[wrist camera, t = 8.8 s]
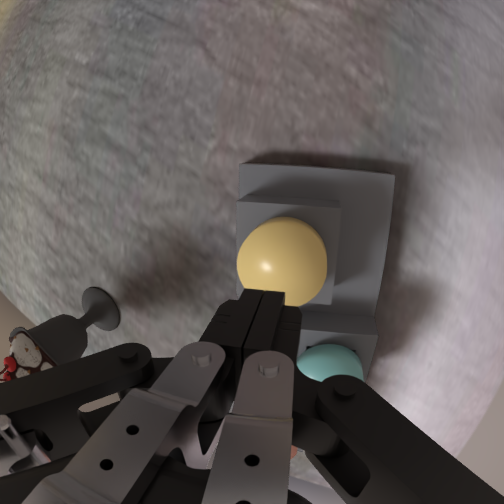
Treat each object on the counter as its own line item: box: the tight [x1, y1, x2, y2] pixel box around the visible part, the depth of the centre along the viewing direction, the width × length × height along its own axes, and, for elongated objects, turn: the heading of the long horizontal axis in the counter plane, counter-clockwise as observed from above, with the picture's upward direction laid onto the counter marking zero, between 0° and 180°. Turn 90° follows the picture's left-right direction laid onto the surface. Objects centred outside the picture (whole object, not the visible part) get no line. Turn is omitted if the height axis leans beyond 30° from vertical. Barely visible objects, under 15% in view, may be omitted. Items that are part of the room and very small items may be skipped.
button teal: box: [297, 344, 364, 382], centre depth 20 cm, size 5×5×4 cm
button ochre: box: [237, 217, 327, 306], centre depth 18 cm, size 5×5×4 cm
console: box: [236, 163, 395, 452], centre depth 23 cm, size 26×10×4 cm, turn 179°
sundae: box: [0, 288, 119, 382], centre depth 22 cm, size 7×7×15 cm
